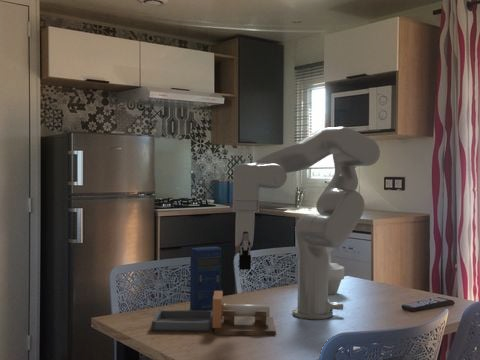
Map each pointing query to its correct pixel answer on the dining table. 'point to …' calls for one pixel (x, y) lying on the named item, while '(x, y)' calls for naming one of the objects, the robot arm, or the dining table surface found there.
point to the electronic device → (204, 277)
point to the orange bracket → (217, 308)
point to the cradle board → (246, 324)
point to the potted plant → (334, 274)
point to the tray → (183, 321)
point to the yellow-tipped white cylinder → (245, 309)
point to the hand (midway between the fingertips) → (244, 266)
